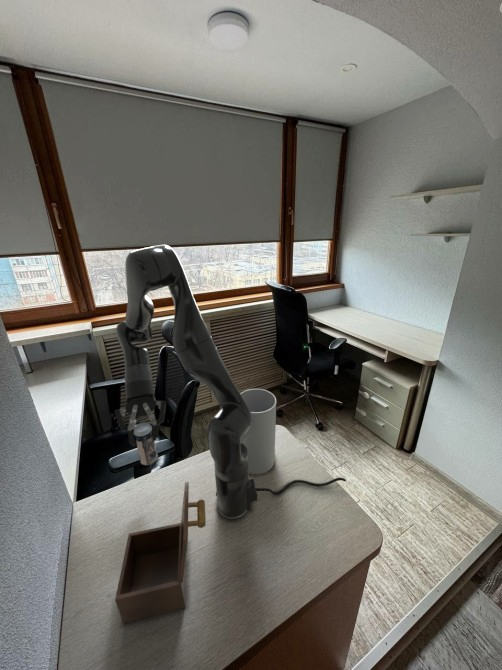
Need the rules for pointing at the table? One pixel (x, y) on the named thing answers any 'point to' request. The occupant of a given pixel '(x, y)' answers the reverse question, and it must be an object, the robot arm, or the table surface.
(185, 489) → the chest lid
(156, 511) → the table surface
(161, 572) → the chest
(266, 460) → the cylinder vase
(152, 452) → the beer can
